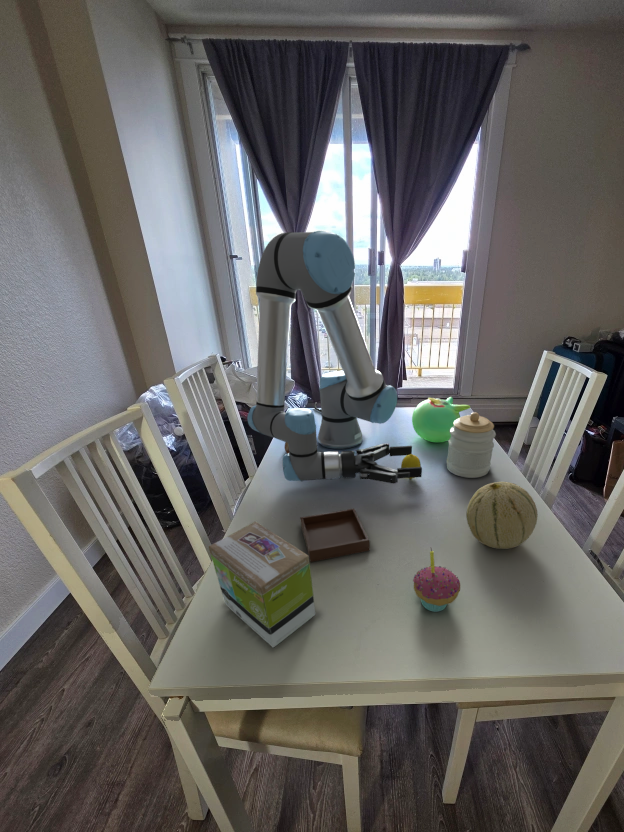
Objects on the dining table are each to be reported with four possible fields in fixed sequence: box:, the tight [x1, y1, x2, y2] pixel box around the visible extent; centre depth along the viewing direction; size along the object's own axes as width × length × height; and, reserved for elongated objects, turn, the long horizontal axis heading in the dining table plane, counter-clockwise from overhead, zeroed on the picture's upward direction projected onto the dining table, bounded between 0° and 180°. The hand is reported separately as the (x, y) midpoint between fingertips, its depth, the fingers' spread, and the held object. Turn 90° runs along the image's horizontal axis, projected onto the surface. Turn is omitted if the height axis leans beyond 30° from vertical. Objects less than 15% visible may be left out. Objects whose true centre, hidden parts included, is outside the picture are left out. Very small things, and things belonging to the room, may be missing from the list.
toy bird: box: [411, 396, 471, 444], centre depth 138 cm, size 18×17×15 cm
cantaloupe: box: [466, 481, 538, 550], centre depth 89 cm, size 15×15×15 cm
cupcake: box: [412, 547, 461, 613], centre depth 74 cm, size 9×8×12 cm
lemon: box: [400, 453, 422, 480], centre depth 115 cm, size 6×6×8 cm
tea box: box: [208, 521, 316, 648], centre depth 71 cm, size 15×10×15 cm, turn 49°
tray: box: [299, 507, 371, 563], centre depth 93 cm, size 13×13×3 cm
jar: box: [446, 411, 497, 479], centre depth 118 cm, size 13×13×18 cm
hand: (416, 460), depth 114 cm, fingers open, 13 cm apart
